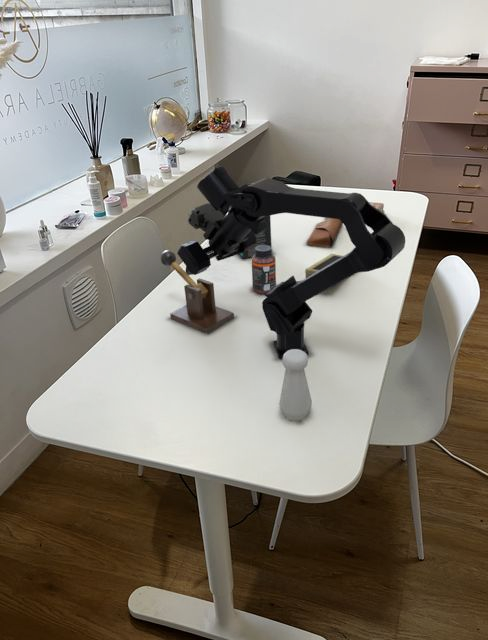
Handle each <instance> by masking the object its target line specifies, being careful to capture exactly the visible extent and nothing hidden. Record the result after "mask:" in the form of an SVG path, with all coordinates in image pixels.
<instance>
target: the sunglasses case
mask: <svg viewBox="0 0 488 640" xmlns="http://www.w3.org/2000/svg"><path fill="white" fill-rule="evenodd" d="M343 225H344V224H343V223H342V222H341V221H340V219H332V218H329V219H327V220H326V219H325V220H323V221H321V222H318V223H317V224H316V225H315V227H314V229H313V231H312V233H311V234H310V235H309V237H308V238H307V240H306V245H309V246H312V247H313V246H314V247H317V248H318V247H320V248H327V249H328V248H331V247H333V245H334V244H335V242H336V239H337V237H338V234H339V233H340V230H341V228H342V226H343Z"/></svg>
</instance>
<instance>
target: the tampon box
mask: <svg viewBox="0 0 488 640" xmlns="http://www.w3.org/2000/svg"><path fill="white" fill-rule="evenodd" d="M231 208H232V206H231V207H230V208H228V209H227V213H228V212H229V210H230V209H231ZM261 217H265V222H266V223H267V229H265V230H264V231H262V232H261V233H259V234H257V235H255V236H256V239H257V243H256V244H255V245H254V246H253V247H252V248H250V249H248V250H246V251H244V252H242V253H240V254H237V255H238V256H239V257H240V258H241V259H249V258H252V257H253V255H255V254H256V253H255V248H256V247H257V246H260V245H268V246H270V247H271V251H272V252H273V249H272V247H273V246H272V225H271V224H272V223H271V222H272V221H271V215H270V216H261Z"/></svg>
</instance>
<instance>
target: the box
mask: <svg viewBox="0 0 488 640" xmlns="http://www.w3.org/2000/svg"><path fill="white" fill-rule="evenodd" d="M343 256H344V255H343V254H336V253H330V254H329V255H327V256H325V257H323V258H322V259H321V260H319V261H317V262H316V263H314V264H312V265H310V266H309V267H307V268H305V270H304V273H305V279H306V278H307V277H309V276H311V275H312V274H314V273H316V272H317V271H319V270H321V269H322V268H324V267H326V266H327V265H329V264H331V263H332V262H334V261H336V260H337V259H339V258H341V257H343ZM331 288H332V287H330V288H329V289H331Z"/></svg>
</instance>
